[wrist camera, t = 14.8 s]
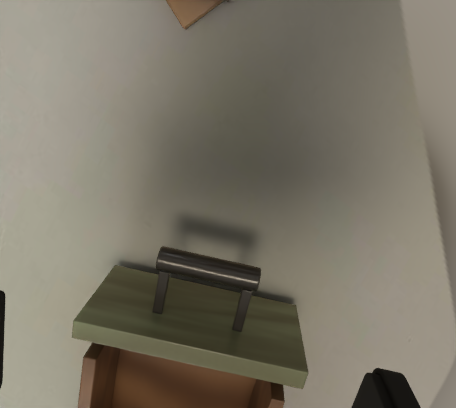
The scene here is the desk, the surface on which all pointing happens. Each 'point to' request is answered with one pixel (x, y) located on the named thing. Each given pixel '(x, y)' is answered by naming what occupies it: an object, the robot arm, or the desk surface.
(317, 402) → the desk surface
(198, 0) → the cork mat
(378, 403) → the robot arm
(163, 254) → the drawer
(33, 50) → the desk surface
